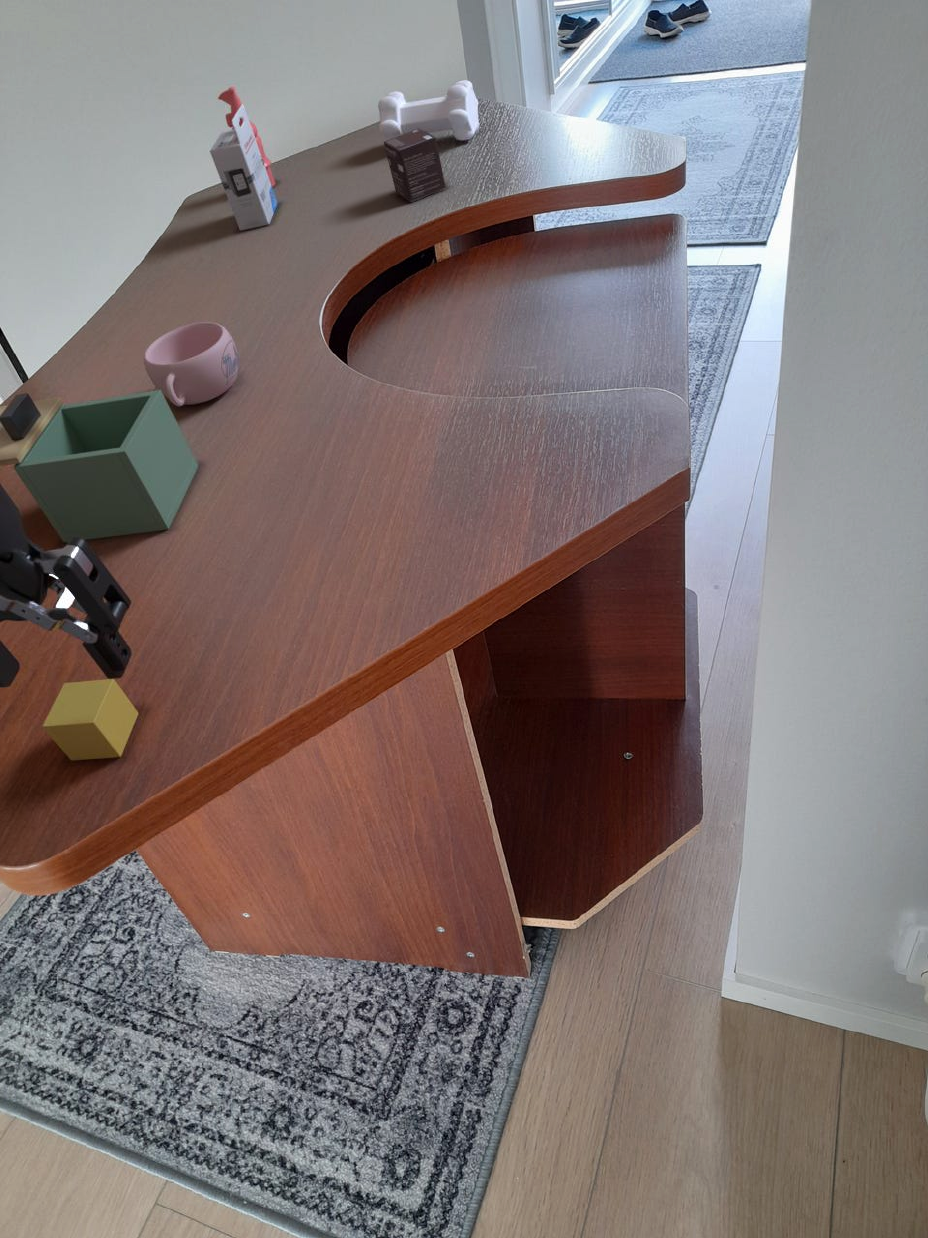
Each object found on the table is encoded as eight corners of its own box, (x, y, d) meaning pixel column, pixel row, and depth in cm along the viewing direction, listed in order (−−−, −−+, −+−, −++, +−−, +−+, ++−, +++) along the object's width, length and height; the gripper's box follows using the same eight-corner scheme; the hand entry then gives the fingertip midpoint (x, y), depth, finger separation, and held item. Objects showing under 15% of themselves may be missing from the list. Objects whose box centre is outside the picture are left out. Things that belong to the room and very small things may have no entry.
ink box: (249, 210, 143) (212, 109, 133) (279, 203, 142) (244, 101, 132) (239, 231, 137) (199, 127, 127) (269, 225, 136) (232, 119, 126)
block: (120, 757, 64) (93, 722, 61) (70, 760, 65) (41, 726, 62) (139, 713, 67) (113, 678, 64) (91, 717, 68) (63, 682, 65)
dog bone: (384, 158, 147) (371, 104, 142) (400, 138, 153) (387, 86, 147) (471, 146, 143) (461, 89, 137) (484, 126, 148) (474, 71, 143)
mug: (182, 371, 106) (160, 325, 102) (259, 362, 104) (239, 314, 100) (143, 429, 98) (118, 382, 94) (226, 420, 96) (203, 371, 92)
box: (395, 193, 134) (382, 141, 129) (431, 179, 136) (419, 127, 130) (410, 203, 130) (397, 149, 125) (447, 188, 131) (436, 135, 126)
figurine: (243, 194, 149) (207, 95, 139) (256, 182, 152) (222, 84, 142) (270, 191, 147) (235, 90, 137) (282, 178, 151) (250, 79, 140)
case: (168, 529, 83) (124, 451, 77) (63, 542, 86) (12, 467, 80) (198, 465, 90) (160, 389, 84) (100, 479, 93) (56, 405, 87)
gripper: (-234, 542, 49) (-51, 724, 60) (-8, 512, 46) (140, 710, 57) (-155, 459, 54) (-1, 641, 65) (52, 428, 51) (177, 625, 62)
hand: (65, 673), depth 61 cm, fingers open, 8 cm apart
